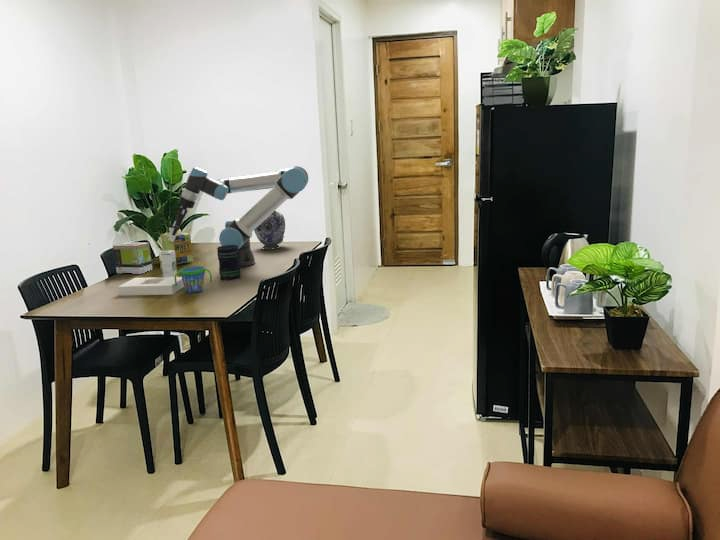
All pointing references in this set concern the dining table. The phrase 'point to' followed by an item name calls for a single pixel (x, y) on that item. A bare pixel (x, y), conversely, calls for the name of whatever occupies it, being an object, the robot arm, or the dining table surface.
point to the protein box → (179, 246)
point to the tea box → (132, 258)
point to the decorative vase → (271, 230)
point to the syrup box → (168, 263)
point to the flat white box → (151, 286)
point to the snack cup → (193, 278)
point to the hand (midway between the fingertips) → (171, 237)
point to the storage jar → (229, 262)
